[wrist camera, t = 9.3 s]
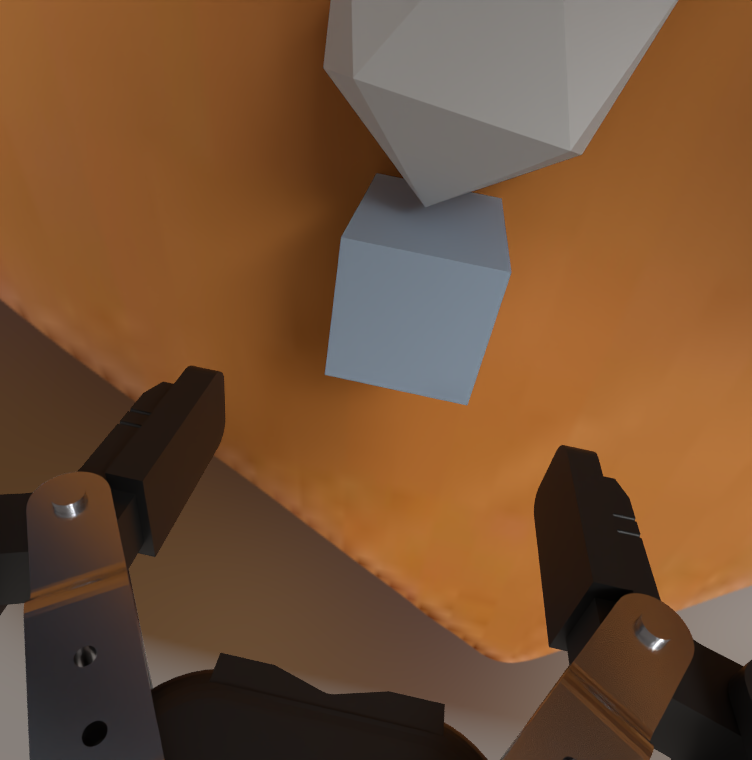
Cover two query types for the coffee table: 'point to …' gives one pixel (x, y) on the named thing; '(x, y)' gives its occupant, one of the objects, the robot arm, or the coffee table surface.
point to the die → (484, 80)
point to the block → (418, 291)
